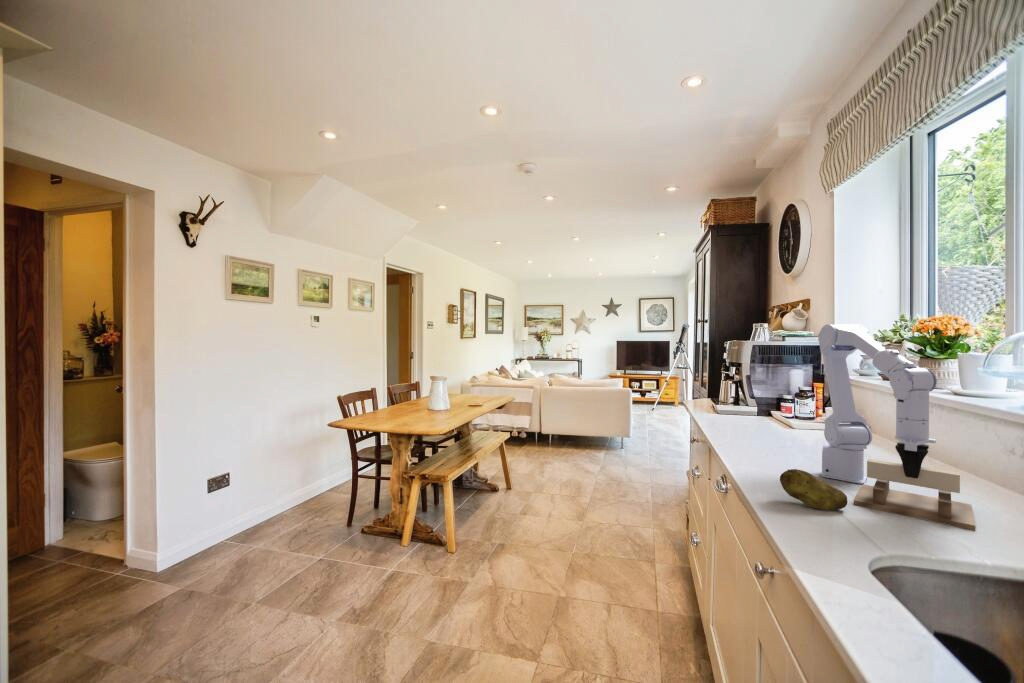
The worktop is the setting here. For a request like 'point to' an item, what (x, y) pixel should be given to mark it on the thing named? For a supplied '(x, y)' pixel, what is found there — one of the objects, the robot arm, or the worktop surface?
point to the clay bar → (925, 479)
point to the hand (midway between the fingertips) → (911, 475)
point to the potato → (812, 490)
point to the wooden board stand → (916, 505)
